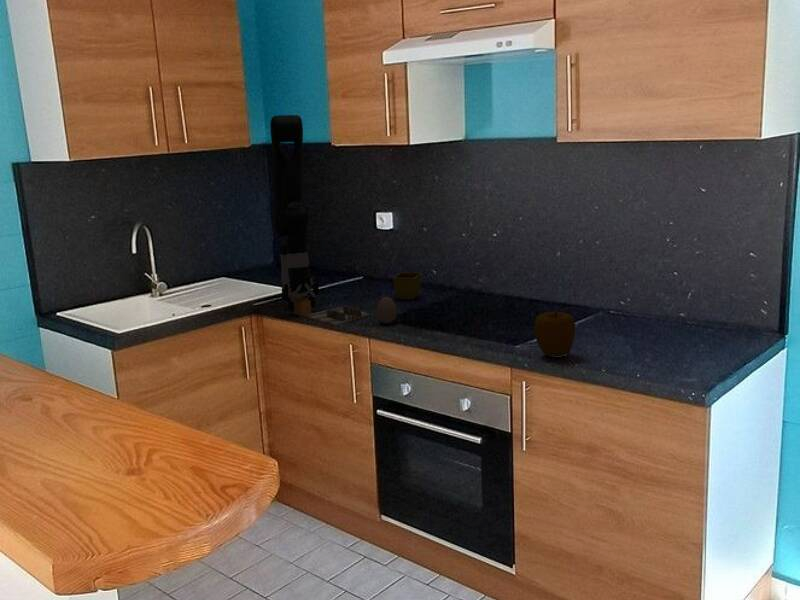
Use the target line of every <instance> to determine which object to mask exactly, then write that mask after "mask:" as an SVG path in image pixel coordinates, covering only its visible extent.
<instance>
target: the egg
mask: <svg viewBox="0 0 800 600" xmlns="http://www.w3.org/2000/svg"><path fill="white" fill-rule="evenodd" d="M397 311H398V310H397V306H396V304H395V302H394V300H393V299H392V298H391V297H388V296H384V297H382V298H381V299H380V300H379V302H378V303H377V307H376V314H377V315H376V316H377V318H378V319H379V321H380V322H381V323H383V324H384V325H385V324H386V325H389V323H390V324H392V323H393V322H394V320H395V319H396V318H397V314H398V312H397Z"/></svg>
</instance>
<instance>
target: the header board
mask: <svg viewBox="0 0 800 600" xmlns="http://www.w3.org/2000/svg"><path fill="white" fill-rule="evenodd" d="M370 317H373V313H368V312H365V311H362V308H358V306H357V305H356V306H350V305H345V304H344V305H342V306H338V307H335V308H328V309H326V310H322V311H318V312H314V313H311V314H309V315H305V318H308V319H310V320H315V321H317V322H321V323H325V324H328V325H331V326H338V325H342V324H346V323H351V322H354V321H355V322H356V321H359V320H361V319H365V318H370Z"/></svg>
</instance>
